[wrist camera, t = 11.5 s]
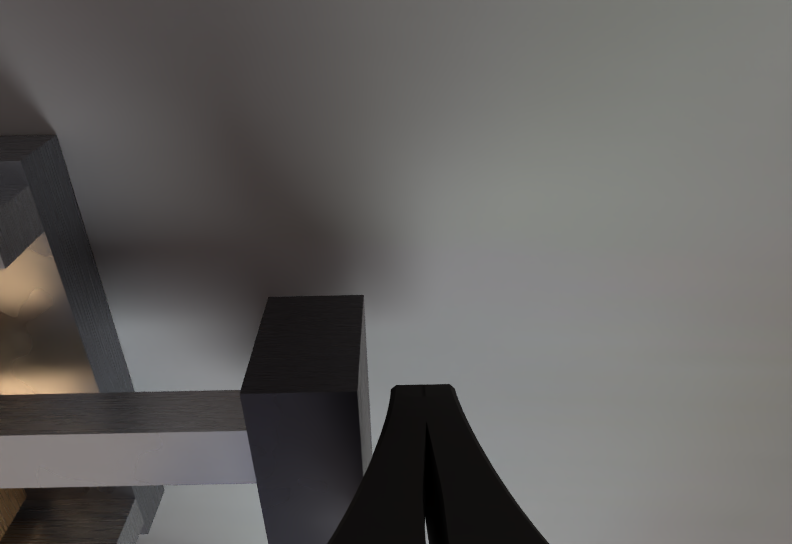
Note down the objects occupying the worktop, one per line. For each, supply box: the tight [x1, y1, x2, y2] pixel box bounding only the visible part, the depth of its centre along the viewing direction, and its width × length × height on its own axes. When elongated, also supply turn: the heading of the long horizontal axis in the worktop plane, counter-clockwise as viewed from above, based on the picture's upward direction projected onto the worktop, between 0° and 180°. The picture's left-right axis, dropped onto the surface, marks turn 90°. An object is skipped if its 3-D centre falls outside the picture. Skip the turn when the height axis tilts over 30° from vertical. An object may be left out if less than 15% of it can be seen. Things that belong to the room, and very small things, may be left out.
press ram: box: [0, 295, 372, 544], centre depth 13 cm, size 7×12×3 cm, turn 91°
